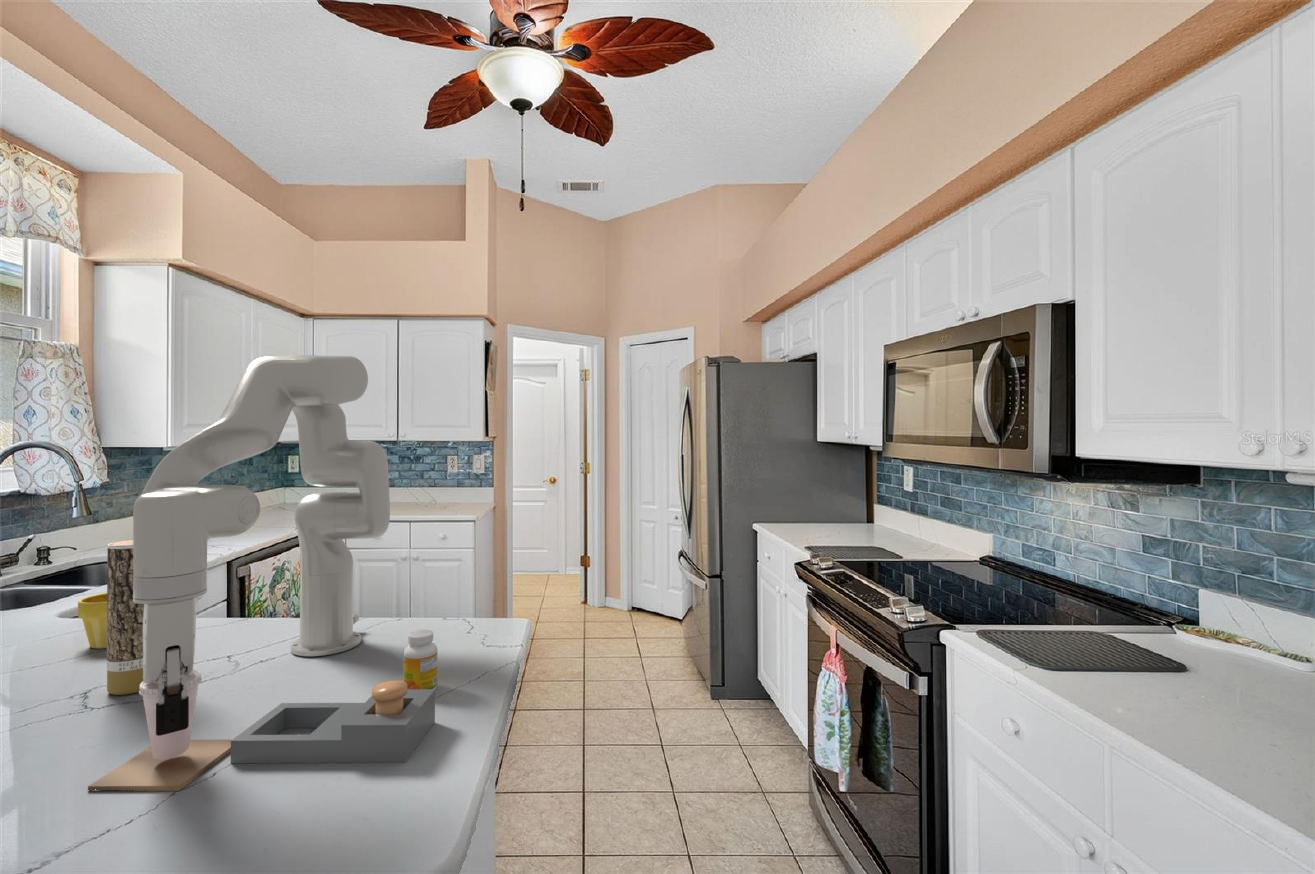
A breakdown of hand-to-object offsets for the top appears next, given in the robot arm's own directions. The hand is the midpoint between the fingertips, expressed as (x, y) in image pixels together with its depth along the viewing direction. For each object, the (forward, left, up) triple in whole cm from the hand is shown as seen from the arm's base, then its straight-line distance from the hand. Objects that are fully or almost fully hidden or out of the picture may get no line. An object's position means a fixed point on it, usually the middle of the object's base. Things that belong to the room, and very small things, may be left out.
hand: (171, 720), depth 78 cm
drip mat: (0, 0, -6) cm, 6 cm away
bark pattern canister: (-24, -25, -6) cm, 35 cm away
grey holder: (-6, +19, -6) cm, 21 cm away
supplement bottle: (-23, +24, -6) cm, 34 cm away
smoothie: (0, 0, -4) cm, 4 cm away
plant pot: (-46, -48, -6) cm, 67 cm away
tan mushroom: (-6, +26, -5) cm, 27 cm away
